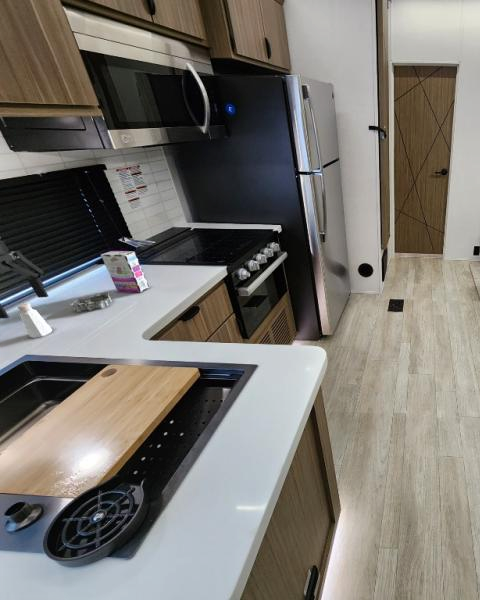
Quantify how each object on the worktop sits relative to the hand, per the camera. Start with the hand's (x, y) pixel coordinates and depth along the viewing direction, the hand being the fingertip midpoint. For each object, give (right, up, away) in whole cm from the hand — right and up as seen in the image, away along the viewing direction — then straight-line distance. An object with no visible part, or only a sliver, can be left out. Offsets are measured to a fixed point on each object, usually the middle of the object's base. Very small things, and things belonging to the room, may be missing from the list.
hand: (24, 306), depth 106 cm
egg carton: (+3, 0, +21) cm, 21 cm away
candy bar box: (+8, +6, +34) cm, 35 cm away
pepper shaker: (0, -9, +5) cm, 11 cm away
